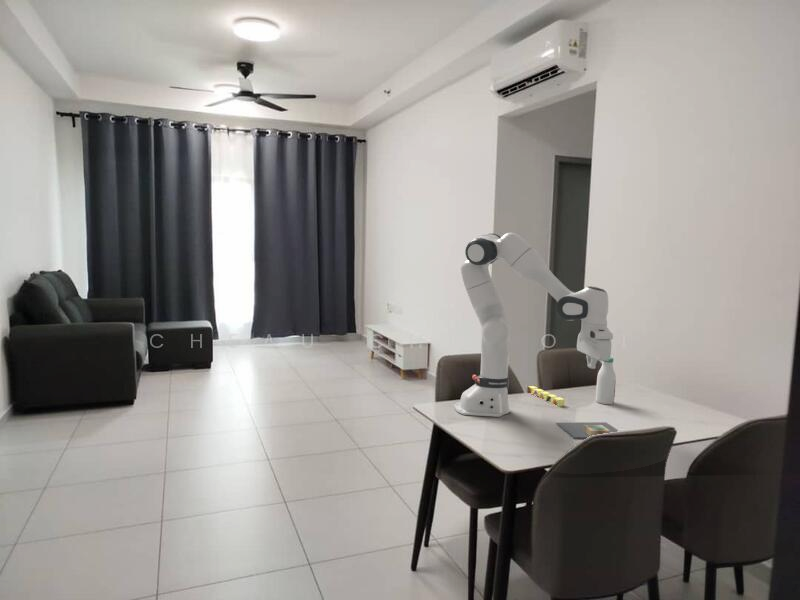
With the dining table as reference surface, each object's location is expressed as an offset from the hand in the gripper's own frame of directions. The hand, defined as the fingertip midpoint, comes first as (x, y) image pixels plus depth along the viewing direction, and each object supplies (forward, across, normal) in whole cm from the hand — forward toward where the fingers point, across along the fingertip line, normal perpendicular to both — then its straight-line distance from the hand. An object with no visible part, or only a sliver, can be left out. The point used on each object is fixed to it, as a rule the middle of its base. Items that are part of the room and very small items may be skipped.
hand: (591, 367), depth 203 cm
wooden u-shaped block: (+22, +4, 0) cm, 22 cm away
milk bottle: (+23, -34, +24) cm, 48 cm away
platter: (+24, -38, -3) cm, 45 cm away
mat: (+23, +3, 0) cm, 23 cm away
